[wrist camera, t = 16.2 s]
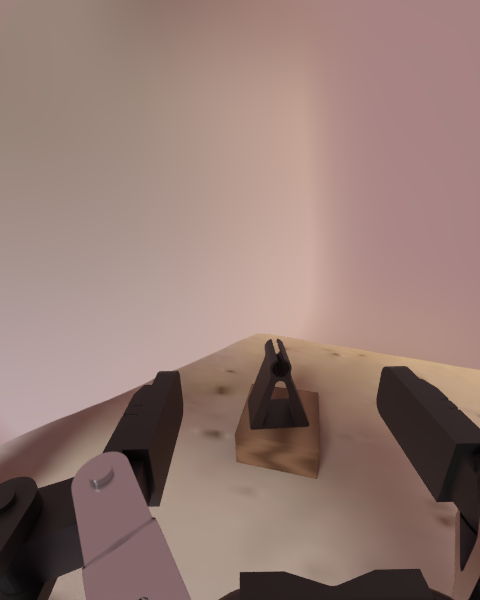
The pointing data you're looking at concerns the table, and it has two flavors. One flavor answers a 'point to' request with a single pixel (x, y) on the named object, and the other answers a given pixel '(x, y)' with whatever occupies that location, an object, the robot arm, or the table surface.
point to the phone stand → (260, 403)
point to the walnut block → (282, 440)
